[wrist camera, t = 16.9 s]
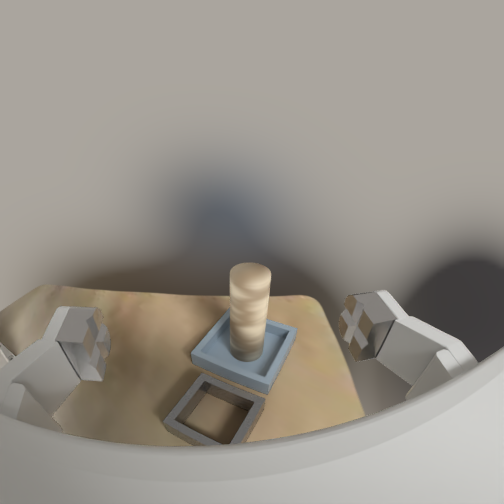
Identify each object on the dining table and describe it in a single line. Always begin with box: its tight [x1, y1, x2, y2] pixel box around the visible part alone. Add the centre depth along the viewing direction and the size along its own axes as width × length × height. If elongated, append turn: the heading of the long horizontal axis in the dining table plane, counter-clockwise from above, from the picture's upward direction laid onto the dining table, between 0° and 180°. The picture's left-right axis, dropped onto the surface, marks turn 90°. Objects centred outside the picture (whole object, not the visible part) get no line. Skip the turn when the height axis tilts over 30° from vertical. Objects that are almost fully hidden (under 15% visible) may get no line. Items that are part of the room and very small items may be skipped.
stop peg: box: [230, 263, 271, 362], centre depth 37 cm, size 5×5×14 cm
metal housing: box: [163, 373, 265, 446], centre depth 29 cm, size 9×9×3 cm
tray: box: [191, 308, 297, 395], centre depth 40 cm, size 12×12×2 cm
